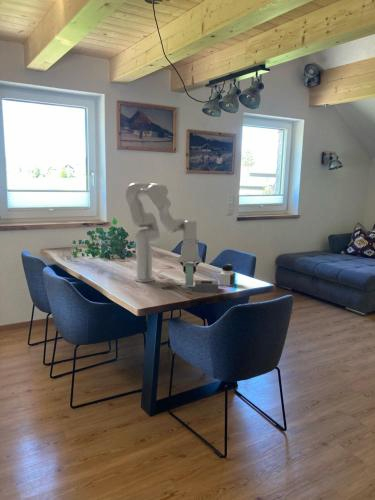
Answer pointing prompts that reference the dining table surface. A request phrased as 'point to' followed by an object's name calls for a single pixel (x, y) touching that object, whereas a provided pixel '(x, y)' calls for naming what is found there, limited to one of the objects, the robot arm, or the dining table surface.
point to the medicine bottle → (227, 275)
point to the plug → (189, 273)
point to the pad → (188, 287)
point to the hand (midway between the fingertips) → (189, 272)
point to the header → (206, 286)
